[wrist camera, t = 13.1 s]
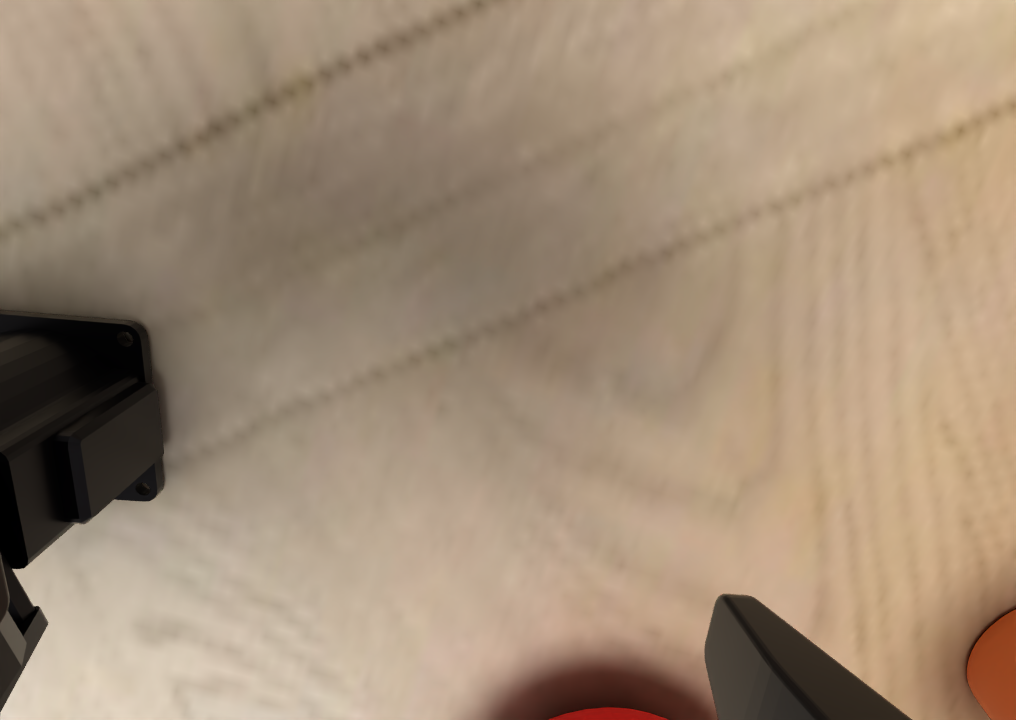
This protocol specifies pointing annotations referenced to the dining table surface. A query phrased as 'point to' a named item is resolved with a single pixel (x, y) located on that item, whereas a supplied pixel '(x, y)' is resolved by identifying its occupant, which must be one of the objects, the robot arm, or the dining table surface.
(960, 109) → the dining table surface
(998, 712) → the cup with straw
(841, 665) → the robot arm
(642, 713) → the tomato
